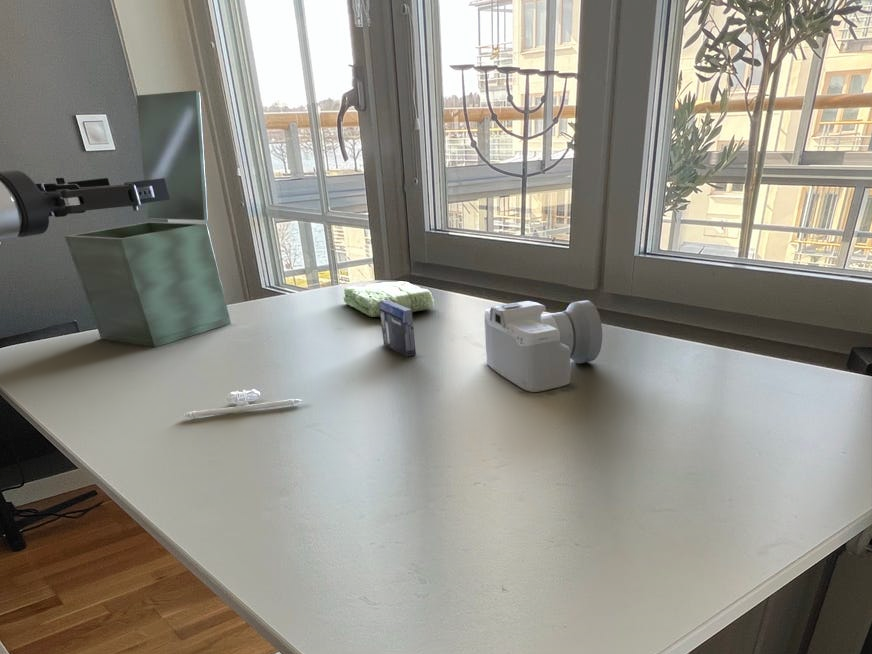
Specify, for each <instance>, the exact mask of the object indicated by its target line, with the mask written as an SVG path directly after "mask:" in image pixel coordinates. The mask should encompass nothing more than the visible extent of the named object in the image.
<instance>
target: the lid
mask: <svg viewBox="0 0 872 654" xmlns="http://www.w3.org/2000/svg"><path fill="white" fill-rule="evenodd" d="M135 96H136V107H137V117H138V128H139V129H138V130H139V137H140V138H139V139H140V141H139V142H140V150H141V161H142V162H141V163H142V172H143V180H151V179H159V178H165V182H166V185H167V189H168V193H169V197H170V200H164V201H157V202H150V203H145V204H146V214H147V219H150V220H151V219H153V220H175V221H177V220H178V221H199V222H200V221H202V222H208V220H209V217H208V216H209V215H208V203H207V202H208V201H207V184H206V171H205V155H204V153H205V152H204V137H203V136H204V135H203V121H202V108H201V107H202V106H201V105H202V104H201V92H200V91H198V90H185V91H172V92H163V93H162V92H161V93H160V92H159V93H148V94H140V95H139V94H137V95H135Z"/></svg>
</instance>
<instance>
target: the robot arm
mask: <svg viewBox="0 0 872 654" xmlns="http://www.w3.org/2000/svg"><path fill="white" fill-rule="evenodd" d="M55 181H56V182H47V183H44V182H35V181H34V180H33V179H32V178H31V177H30V176H29V175H28V174H26V173H25V172H23V171H21V170H17V169H14V170H3V171H0V247H1V246H2V241H1V240H9V239H14V238H15V239H16V238H17V237H18V238H25V237H31V236H37V235H42V234H44V233H46V232H47V230H48V229H49V225H50V217H55V218H62V217H66V216H68V215H73V214H84V213H86V212H87V211H93V210H95V211H97V210H104V209H114V208H124V207H132V209H133V212H137V211H139V206H141V205H143V204H146V203H150V202H157V201H164V200H170V197H169V193H168V189H167V185H166V182H165V178H159V179H151V180H144V179H143V180H135V181H128V182H124V183H123V184H112V185H111V184H110V181H109V178H108V177H101V178H91V179H84V180H75V181H68V182H67V183H66V179H65V177H56V178H55Z"/></svg>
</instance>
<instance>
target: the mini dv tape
mask: <svg viewBox="0 0 872 654" xmlns="http://www.w3.org/2000/svg"><path fill="white" fill-rule="evenodd" d="M379 317H380V324H381V333H382V340H383V345H384V346H386V347H388V348H390V349H391V350H393V351H394V352H397V353H399V354H401V355H403V356H405V357H410V356H411V357H412V356H416V355H417V350H416V339H415V331H414V330H415V329H414V321H413V320H414V319H413V312H412V310H411V309H408V308H406V307H404V306H401V305H399V304H397V303H394V302H392V301H389V300H386V301H381V302H380V316H379Z"/></svg>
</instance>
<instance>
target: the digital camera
mask: <svg viewBox="0 0 872 654" xmlns="http://www.w3.org/2000/svg"><path fill="white" fill-rule="evenodd" d="M546 311H547V309H546V305H545V304H541V303H539V302H536V301H532V300H525V301H519V302H518V301H517V302H511V303H504V304H499V305H494V306H491V307H487V308H486V309H485V312H484V314H483V315H484V316H483V319H484V334H485V335H484V336H485V338H484V339H485V355H486V358H485V359H486V364H487V366H489V367H490V368H491V369H492V370H493V371H495V372H497V373H498V374H499V375H500V376H502V377H503V378H505V379H506V380H508V381H509V382H511V383H512V384H514V385H516V386H517V387H519V388H521V389H522V390H524V391H527V392H530V393H538V392H544V391H549V390H553V389H557V388H562V387H564V386H568V385H569V384H570V382H571V360H572V361H573V362H574V363H576V364H579V365H580V364H585V363H590V362H593V361H595V360H596V359H597V358H598V357H599V355H600V352H601V349H602V344H603V325H602V320H601V316H600V313H599V311H598V309H597V307H596V305H595V304H594V303H593V302H592V301H591V300H588V299H587V300H579V301H573V302H571V303H570V304H569V305H568V306H567V308H566V310H562V311H558V312H552V313H547V314H543V312H546Z"/></svg>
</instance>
